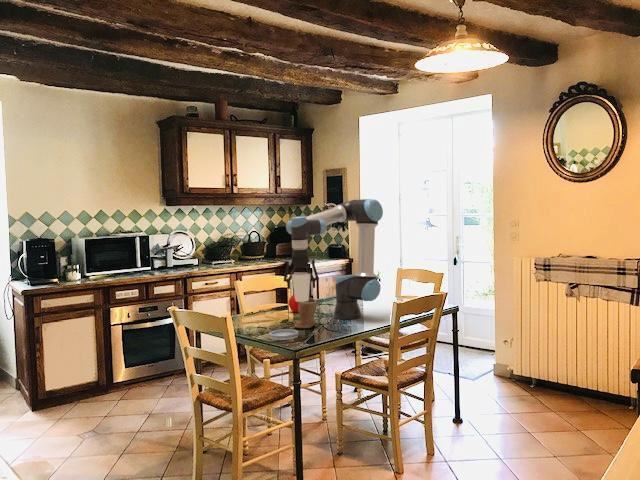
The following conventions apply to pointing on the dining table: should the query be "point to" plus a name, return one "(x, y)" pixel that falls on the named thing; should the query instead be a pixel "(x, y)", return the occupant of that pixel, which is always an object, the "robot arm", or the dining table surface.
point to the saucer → (283, 334)
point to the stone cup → (306, 313)
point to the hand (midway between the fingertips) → (301, 295)
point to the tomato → (293, 304)
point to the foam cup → (301, 286)
